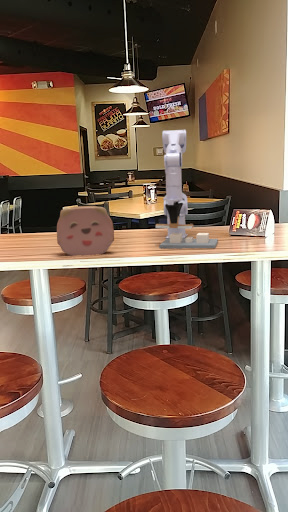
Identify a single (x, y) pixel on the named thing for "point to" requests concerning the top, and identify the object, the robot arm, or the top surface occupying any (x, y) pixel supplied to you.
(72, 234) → the face sculpture
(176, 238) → the display stand
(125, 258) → the top surface
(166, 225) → the brown and white bar
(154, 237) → the top surface
